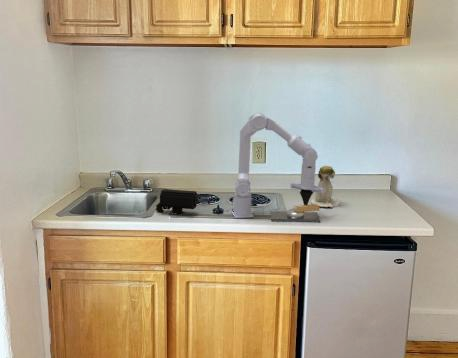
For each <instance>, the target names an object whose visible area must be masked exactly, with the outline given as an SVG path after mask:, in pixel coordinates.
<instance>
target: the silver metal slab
mask: <svg viewBox="0 0 458 358" xmlns="http://www.w3.org/2000/svg"><path fill="white" fill-rule="evenodd" d="M269 213H270V214H271V215H270V221H271V222H282V223H283V222H289V223H291V222H292V223H294V222H295V223H321V218H320V216H319V214H318V211H303V212H294V211H293V208H292V209H288V210H287V211H281V210H279V211H278V210H277V211H274V210H273V211H270V212H269Z"/></svg>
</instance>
